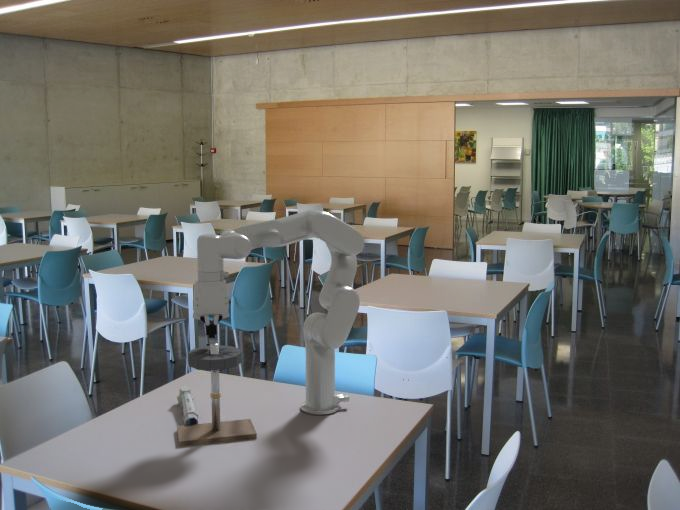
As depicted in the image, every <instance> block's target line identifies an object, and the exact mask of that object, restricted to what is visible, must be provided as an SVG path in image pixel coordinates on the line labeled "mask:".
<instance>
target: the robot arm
mask: <svg viewBox="0 0 680 510" xmlns="http://www.w3.org/2000/svg"><path fill="white" fill-rule="evenodd" d="M311 238H312V239H313V238H315V239H320V241H322V242H324V244H325V245H326V247H327V249H328V251H329V253H330V258H331V262H330V263H331V264H330V267H329V270H328V273H327V275H326V277H325V281H324V283H323V284H322V288H321V289H320V292H319V297H318V301H319V304H320V306H321V307H322V308H324V309H325V310H326V311H328V312H327V313H323V312H313V313H311V314H309V315H308V316H307V317H306V318H305V320H304V322H303V326H302V333H303V341H304V349H305V401H303V402H302V403H301V404H300V410H301V411H302V412H304V413H306V414H309V415H314V416H315V415H317V416H319V415H320V416H323V415H331V414H334V413H336V412H337V411H340V408H341V407H340V403H347V402H349V401H350V396H349V395H344V394H341V393H340V394H336V381H335V380H336V377H335V376H336V352H335V350H337V349H339V348H341V347H342V346H343V345H344V344H345V342H346V340H347V339H348V337H349V335H350V332H351V331H352V327H353V325H354V322H355V320H356V318H357V315H358V313H359V310H360V304H361V301H360V295H359V294H358V291H356V290H355V289H354V288H353V287H352V286H353V283H354V280H355V276H356V274H357V270H358V259H357V255H359V254H360V253H362V251H363V250H364V247H365V237H364V235H363V234H362V232H360V231H359V230H358V229H356V228H355V227H353V226H351V225H350V224H348V223H347V222H345V221H343V220H341V219H340V218H338V217H336V216H335V215H333V214H331V213H329V212H327V211H323V210H318V209H317V210H316V209H309V210H305V211H302V212H298V213H293V214H291V215H287V216H283V217H280V218H275V219H271V220H267V221H263V222H258V223H252V224H248V225H244V226H239V227H236V228H233V229H230V230H226V231H224V232H222V233H221V234H220V235H219V234H214V233H213V234H212V233H211V234H210V233H209V234H207V233H206V234H201V235H199V236H198V237H197V239H196V245H197V246H196V250H197V251H196V253H197V254H196V255H197V280H195V281H194V285H193V295H192V296H193V300H192V310H193V314H192V318H193V319H194V320H199V321H201V322H202V323H204V325H205V336H208V339H215V338H216V337H215V336H216V335H217V334H218V333H217V331H218V330H217V327H218V324H219V323H220V322H221V320H223V319H226V318H229V317H230V312H229V309H230V307H229V306H230V305H229V293H228V286H227V280H226V279H225V278H228V277H229V272H228V271H224V259H227V260H242V259H243V260H244V259H245V258H247V257H248V256H249V255H250V253H251V251H252V249H257V248H279V247H285V246H288V245H291V244H295V243H299V242H302V241H305V240H309V239H311ZM209 316H212V321H210V318H209Z"/></svg>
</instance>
